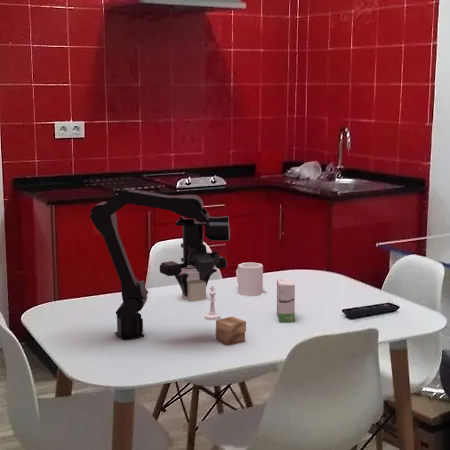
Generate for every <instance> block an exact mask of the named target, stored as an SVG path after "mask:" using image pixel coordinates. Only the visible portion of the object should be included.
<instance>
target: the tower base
mask: <svg viewBox="0 0 450 450" xmlns="http://www.w3.org/2000/svg"><path fill="white" fill-rule="evenodd" d="M215 340H216V341H218V342H220V343H222V344H224V345H225V346H229V345H234V344H239V343H245V342H246V332H243V333H239V334H236V335H232V336H228V335H225V334H223V333H220V332H218V331H216V330H215Z"/></svg>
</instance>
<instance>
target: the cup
mask: <svg viewBox="0 0 450 450" xmlns="http://www.w3.org/2000/svg"><path fill="white" fill-rule="evenodd" d="M186 274H188V278H187V280H190V279H196V278H198V279H200V278H199V272H198V271H197V270H196V268H194V269H187V270H186Z"/></svg>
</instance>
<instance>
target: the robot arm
mask: <svg viewBox="0 0 450 450" xmlns="http://www.w3.org/2000/svg"><path fill="white" fill-rule="evenodd" d="M128 204H129V205H136V206H142V207H147V208H154V209H159V210H166V211H170V212H172V213H175V214H177V215H178V216H180V217H179V219H178V220H176V222H175V223H174V224H175V226H180V227H181V226H182V243H180V248H182V257H181V259H180V260H181V262H182V263H178V262H175V261H173V260H172V261H164V262H161V263H160V265H159V273H161V274H162V275H165V276H167V277H173V276H174V277H175V279H176V281H177V282H178V285H179V287H180V289H181V292H183V294H184V296H186V297H187V292H188V290H187V278H188V274H186V270H187V269H194V268H196V270H197V271H198V272H199V278H200V280H203V281H205V282H206V287H208V283H209V282H210V281H209V280H210V278H211V276H212V275H213V274H214V273H216V272H217V271H218V269H221V270H222V269H226V268H227V267H228V261H227V259H226V258H225V257H224V256H221V255H220V252H218V251H212V252H208V250H207V247H206V246H207V245H206V244H204V236H205V238H206V239H208V240H209V242H210V241H211V242H228V241H230V239H231V226H230V221H229V218H230V217H229V216H228V215H226V216H225V215H224V216H211V215H210V213H209V212H208V211H207V209H206V208H205V207H204V201H203V199H202V198H201V197H200V196H199V195H196V194H178V195H170V194H169V195H168V194H162V193H158V192H151V191H144V190H138V189H133V188H130V187H125V188H123V189H122V190H121V191H119V193H118V194H116V195H115V196H114V197H112V198H111V199H109V200H108V201H101V202H100V203H98V204H96V205H94V206H93V207H92V208H91V210H90V213H89V217H90V221H91V222H92V224H93V225H94V227H95V229H96V230H97V231H98V232H99V234H100V235H101V236H102V237H103V239H104V243H105V244H106V247H107V250H108V253H109V256H110V258H111V261H112V264H113V266H114V269H115V271H116V274H117V277H118V279H119V282H120V288H121V289H120V290H121V291H120V292H121V297H122V298H121V299H122V303H121V304H120V305H119V307H118V308H117V310H116V311H115V315H116V331H115V332H114V334H115V335H116V337H118V338H120V339H122V340H123V341H124V340H130V339H136V338H143V337H144V336H145V334H144V321H143V318H142V314H141V313H140V311H142V309H143V308H144V306H145V305H146V303H147V300H148V294H149V290H147V288H146V285H145V281H144V280H143V279H142V280H140V281H139V279H137V278H136V276H135V272H134V271H133V268H132V265H131V263H130V261H129V258H128V255H127V252H126V249H125V247H124V245H123V242H122V238H121V237H120V233H119V231H118V230H119V229H118V218H117V213H116V212H118V211H119V210H121V209H122V208H123V207H124V206H125V205H128Z"/></svg>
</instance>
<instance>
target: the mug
mask: <svg viewBox="0 0 450 450" xmlns="http://www.w3.org/2000/svg"><path fill="white" fill-rule="evenodd" d="M235 274H236V280H237V281H236V282H237V292H238V294H239V295H240V296H247V297H253V296H254V297H257V295H258V296H260V295H263V294H262V293H263V292H264V287H263V286H264V285H263V283H264V280H263V279H264V265H263V264H262V263H257V262H253V261H252V262H242V263H239V264H237V269H236V270H235Z"/></svg>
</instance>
